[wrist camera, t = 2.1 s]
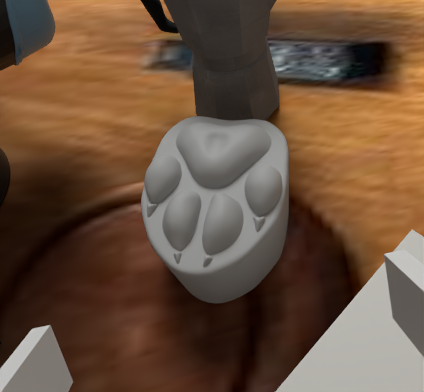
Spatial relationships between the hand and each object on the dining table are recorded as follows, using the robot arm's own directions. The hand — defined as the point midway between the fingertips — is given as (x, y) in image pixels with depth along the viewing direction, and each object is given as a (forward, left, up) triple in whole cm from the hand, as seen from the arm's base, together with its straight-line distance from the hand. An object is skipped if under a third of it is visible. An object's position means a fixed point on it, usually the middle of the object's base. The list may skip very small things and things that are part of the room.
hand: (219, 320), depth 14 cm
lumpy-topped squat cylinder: (-11, 0, -15) cm, 19 cm away
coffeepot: (-26, +3, -15) cm, 30 cm away
